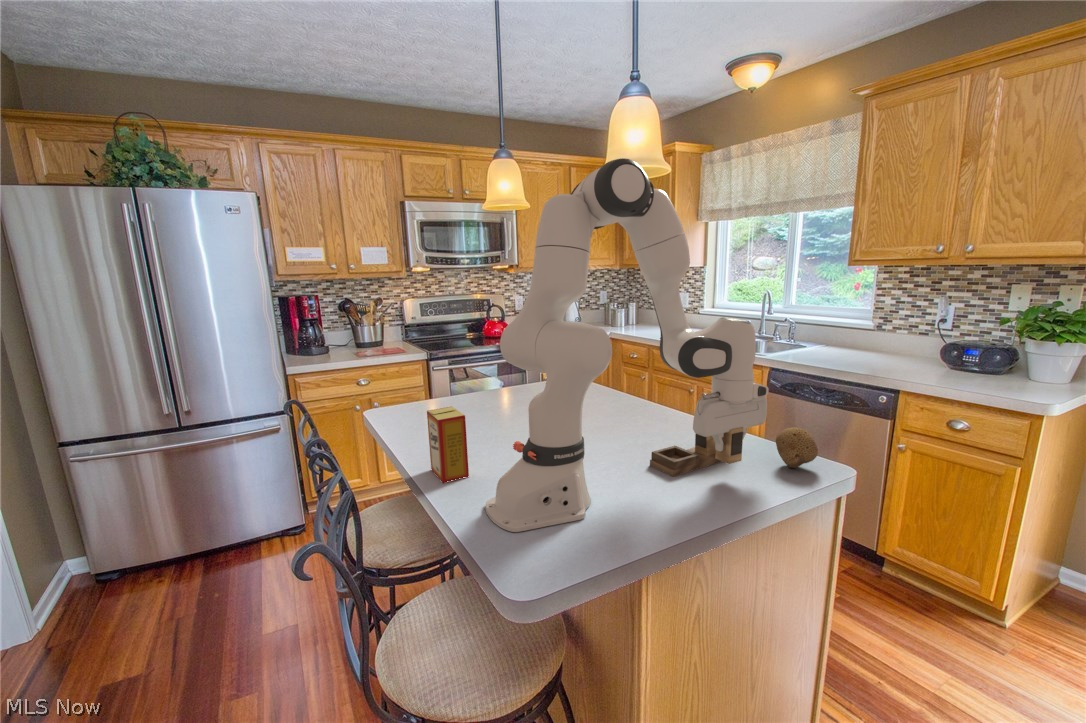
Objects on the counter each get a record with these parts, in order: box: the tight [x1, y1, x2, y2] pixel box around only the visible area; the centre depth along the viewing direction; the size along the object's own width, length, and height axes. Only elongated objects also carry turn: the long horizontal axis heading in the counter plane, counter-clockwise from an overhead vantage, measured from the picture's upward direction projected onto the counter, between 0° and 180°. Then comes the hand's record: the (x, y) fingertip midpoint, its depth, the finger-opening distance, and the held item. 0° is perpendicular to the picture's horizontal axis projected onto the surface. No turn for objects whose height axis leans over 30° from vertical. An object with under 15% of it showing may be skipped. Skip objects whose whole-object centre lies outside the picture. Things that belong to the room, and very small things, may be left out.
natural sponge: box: [775, 426, 819, 468], centre depth 117 cm, size 9×9×10 cm
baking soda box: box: [426, 406, 470, 484], centre depth 119 cm, size 10×6×16 cm
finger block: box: [715, 427, 744, 465], centre depth 111 cm, size 4×4×8 cm
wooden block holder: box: [649, 432, 723, 477], centre depth 122 cm, size 19×8×10 cm, turn 119°
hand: (728, 448), depth 112 cm, fingers closed on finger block, 4 cm apart
